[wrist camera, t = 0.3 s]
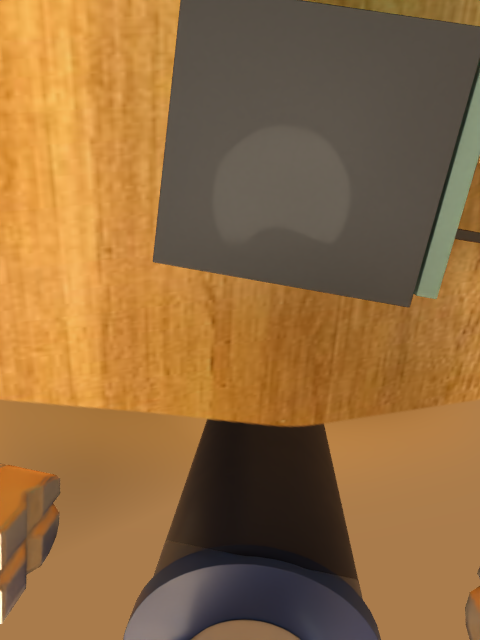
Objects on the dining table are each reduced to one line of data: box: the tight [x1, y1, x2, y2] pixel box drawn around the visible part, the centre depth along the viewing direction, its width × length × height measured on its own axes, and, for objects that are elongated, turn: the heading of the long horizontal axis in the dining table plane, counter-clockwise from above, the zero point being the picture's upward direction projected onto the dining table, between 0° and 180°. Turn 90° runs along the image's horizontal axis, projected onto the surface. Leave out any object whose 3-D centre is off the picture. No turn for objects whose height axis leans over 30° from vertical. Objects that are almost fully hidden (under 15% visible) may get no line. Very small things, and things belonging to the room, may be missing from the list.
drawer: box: [413, 58, 480, 299], centre depth 26 cm, size 18×13×8 cm
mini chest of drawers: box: [153, 0, 480, 307], centre depth 26 cm, size 15×14×10 cm
